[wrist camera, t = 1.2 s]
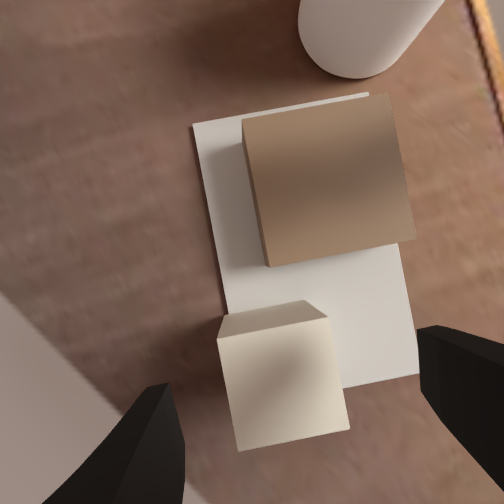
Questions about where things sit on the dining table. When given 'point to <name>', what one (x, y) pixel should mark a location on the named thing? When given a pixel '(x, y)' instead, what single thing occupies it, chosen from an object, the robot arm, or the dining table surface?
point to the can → (361, 32)
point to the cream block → (281, 374)
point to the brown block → (327, 180)
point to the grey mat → (307, 267)
